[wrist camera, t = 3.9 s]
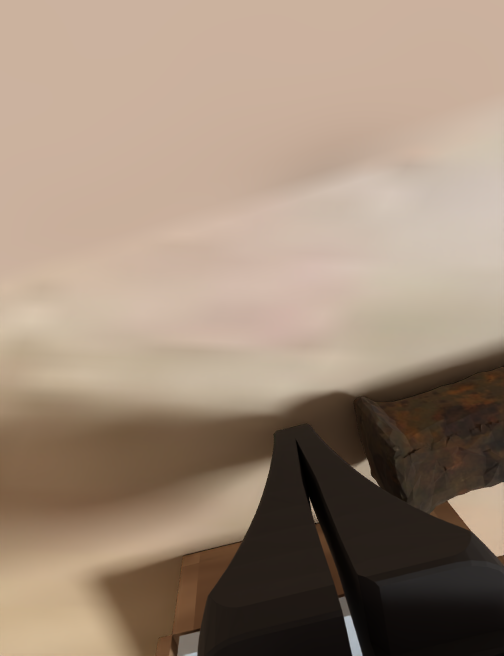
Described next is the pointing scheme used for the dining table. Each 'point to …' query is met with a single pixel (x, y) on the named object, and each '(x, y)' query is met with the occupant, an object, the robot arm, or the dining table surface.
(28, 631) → the dining table surface
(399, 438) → the dark brown wooden log
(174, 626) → the wooden tray
